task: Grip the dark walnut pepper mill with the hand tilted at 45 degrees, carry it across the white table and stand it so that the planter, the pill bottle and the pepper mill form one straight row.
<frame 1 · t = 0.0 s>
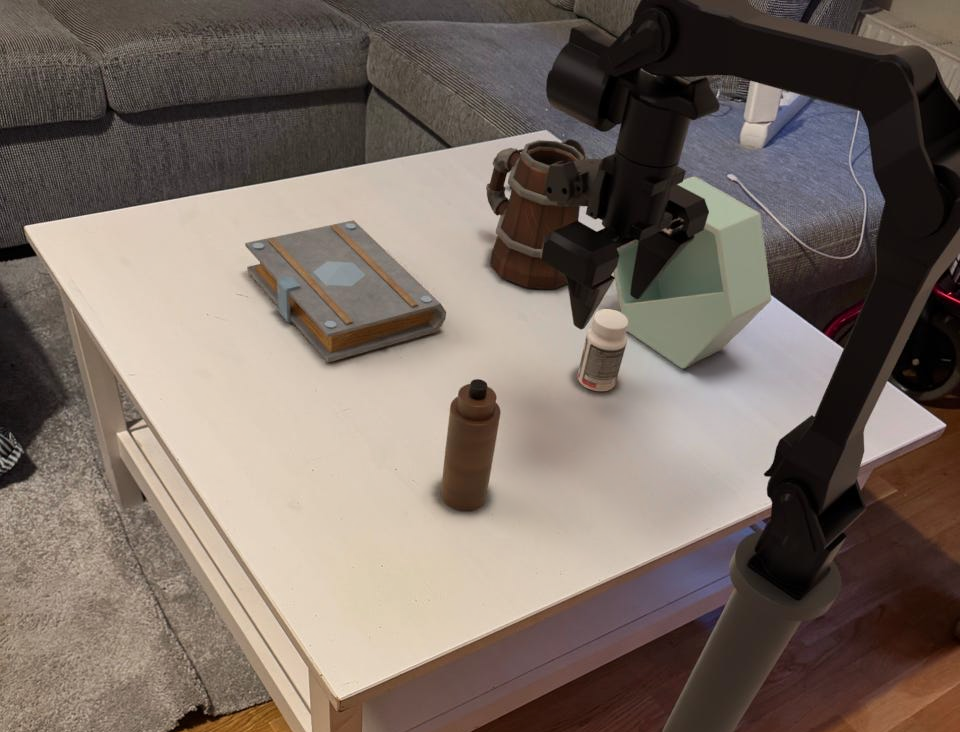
hand: (607, 311, 92), 15 cm above the table, tool pointing down, fingers open, 9 cm apart
pepper mill: (463, 494, 95), on the table
mug: (522, 261, 126), on the table
planter: (668, 339, 118), on the table
pill bottle: (595, 381, 110), on the table
book: (343, 304, 114), on the table
sunglasses: (541, 182, 141), on the table
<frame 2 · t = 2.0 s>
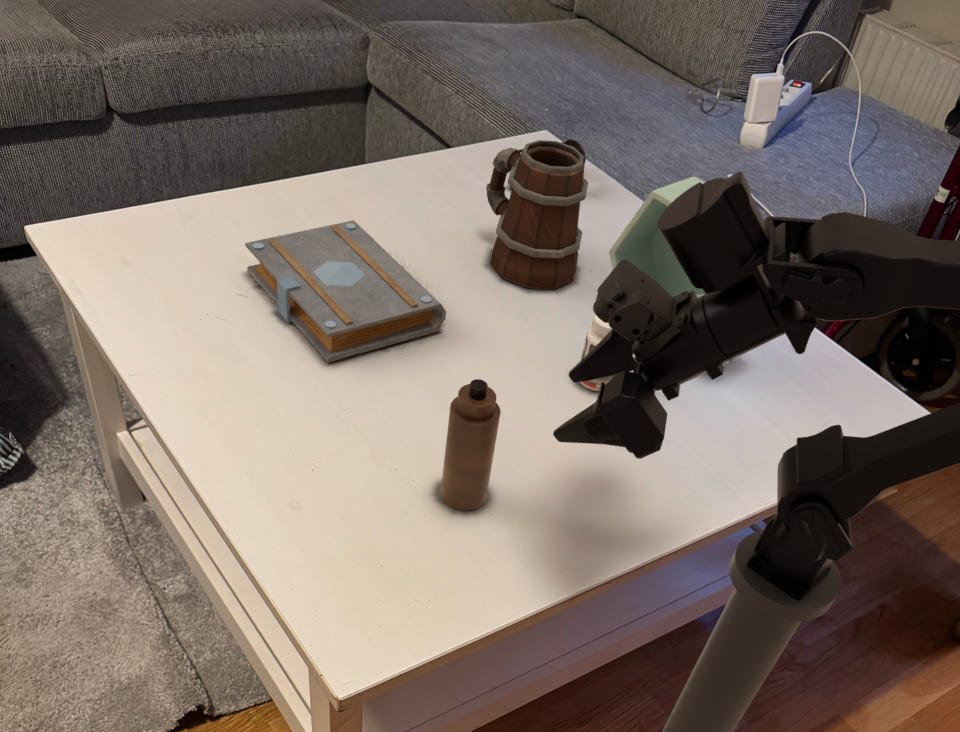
hand: (563, 406, 84), 13 cm above the table, tool tilted 45°, fingers open, 9 cm apart
nothing on the table moved.
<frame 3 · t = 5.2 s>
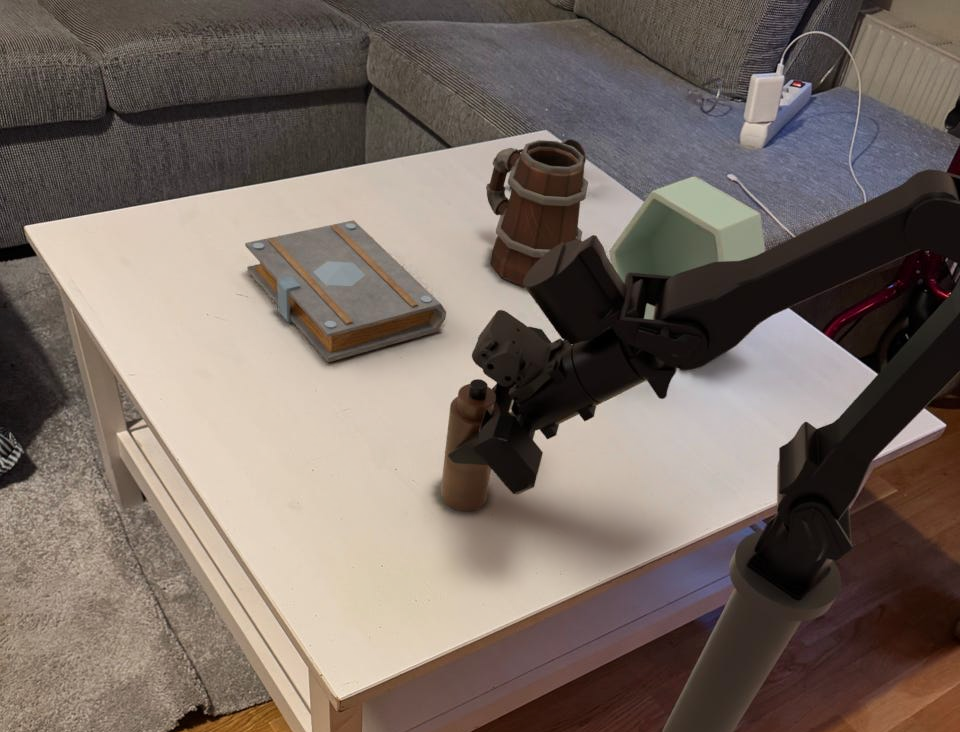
hand: (456, 442, 90), 7 cm above the table, tool tilted 45°, fingers closed on pepper mill, 5 cm apart
pepper mill: (463, 495, 95), on the table, touching gripper
everything else where it was.
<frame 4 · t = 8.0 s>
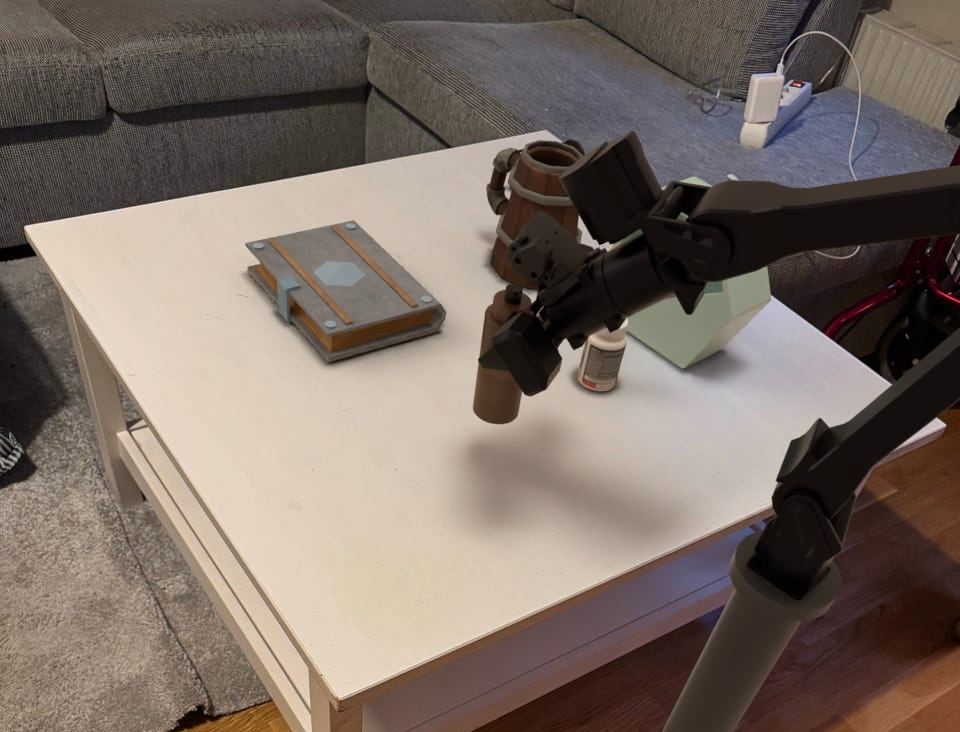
hand: (491, 350, 90), 12 cm above the table, tool tilted 45°, fingers closed on pepper mill, 5 cm apart
pepper mill: (495, 409, 95), point 6 cm above the table, touching gripper
everything else where it was.
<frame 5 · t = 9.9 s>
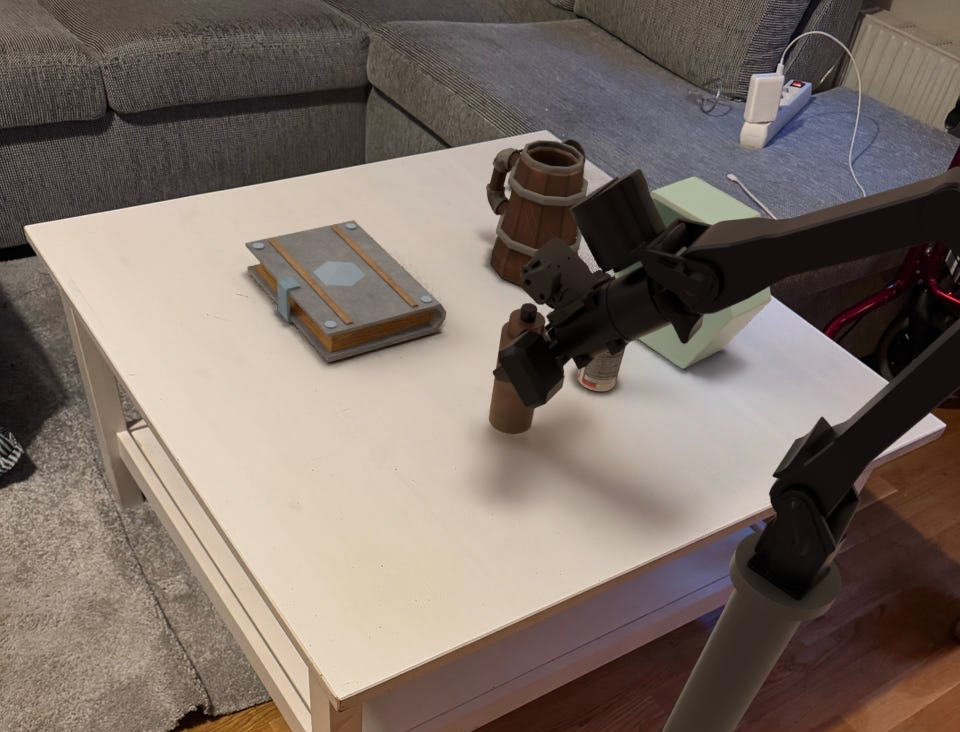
hand: (507, 364, 96), 8 cm above the table, tool tilted 45°, fingers closed on pepper mill, 5 cm apart
pepper mill: (510, 420, 101), point 2 cm above the table, touching gripper
everything else where it was.
when the fingers open (7 cm above the table, at t = 10.9 s): pepper mill stays where it is, on the table.
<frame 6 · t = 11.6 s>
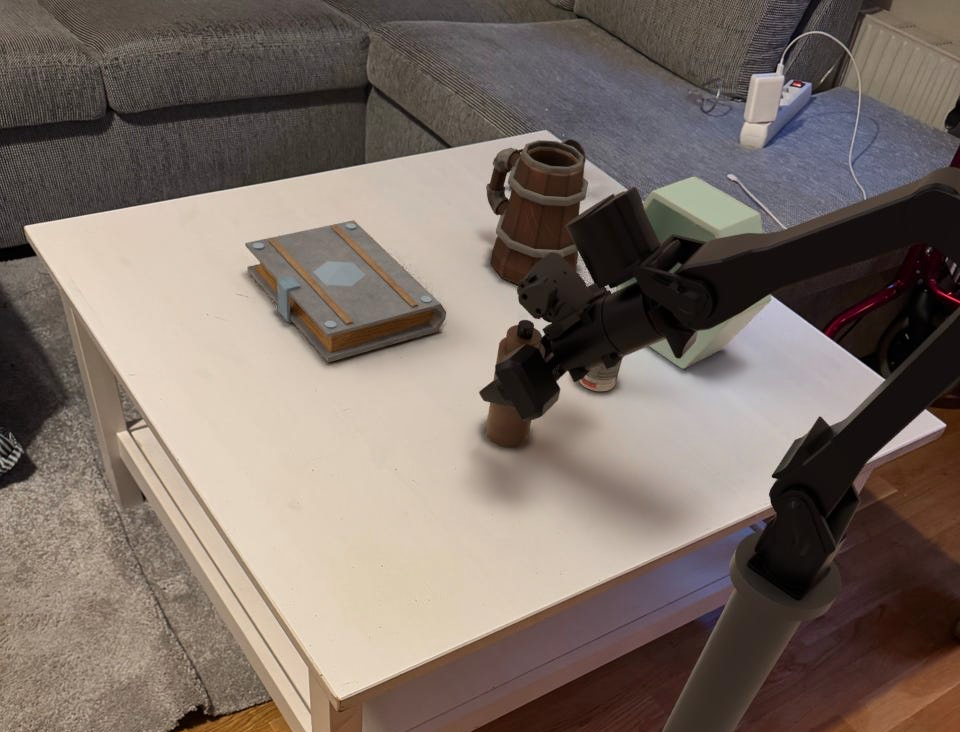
hand: (504, 375, 97), 7 cm above the table, tool tilted 45°, fingers open, 9 cm apart
pepper mill: (507, 433, 102), on the table
everything else where it was.
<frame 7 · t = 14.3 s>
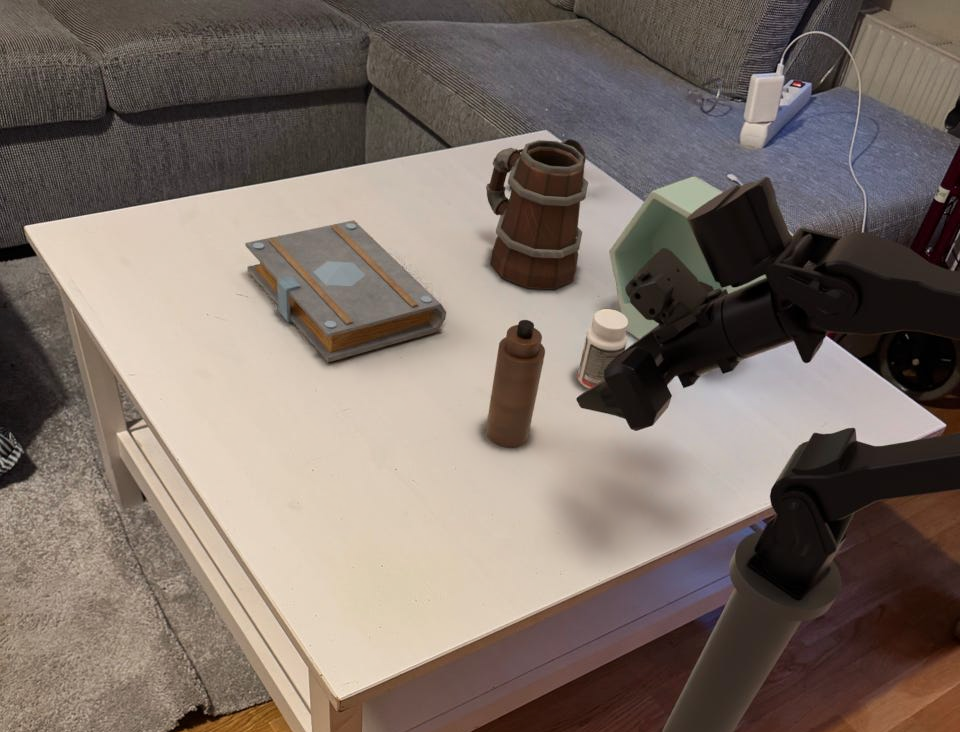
hand: (600, 380, 91), 12 cm above the table, tool tilted 45°, fingers open, 9 cm apart
nothing on the table moved.
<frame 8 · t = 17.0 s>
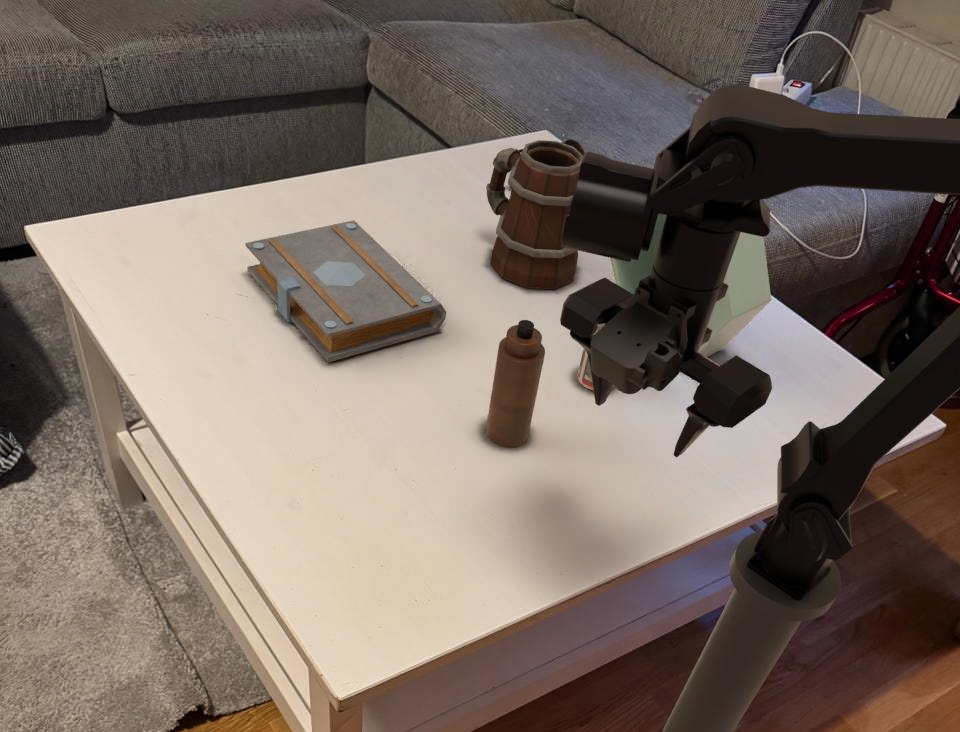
hand: (638, 428, 84), 13 cm above the table, tool pointing down, fingers open, 9 cm apart
nothing on the table moved.
at the end: pepper mill 0.1 cm from the target spot on the table beside the pill bottle, on the table; pepper mill tilted 0° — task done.
